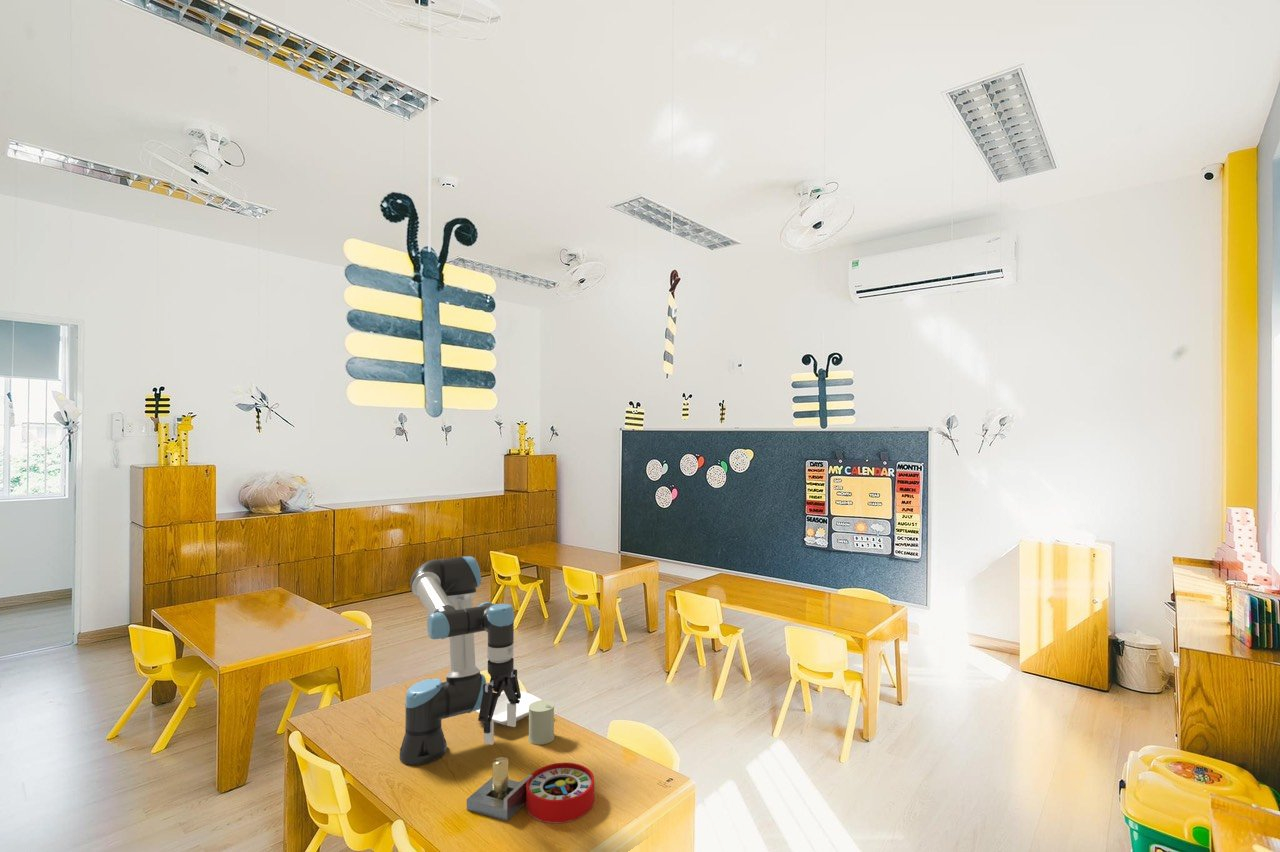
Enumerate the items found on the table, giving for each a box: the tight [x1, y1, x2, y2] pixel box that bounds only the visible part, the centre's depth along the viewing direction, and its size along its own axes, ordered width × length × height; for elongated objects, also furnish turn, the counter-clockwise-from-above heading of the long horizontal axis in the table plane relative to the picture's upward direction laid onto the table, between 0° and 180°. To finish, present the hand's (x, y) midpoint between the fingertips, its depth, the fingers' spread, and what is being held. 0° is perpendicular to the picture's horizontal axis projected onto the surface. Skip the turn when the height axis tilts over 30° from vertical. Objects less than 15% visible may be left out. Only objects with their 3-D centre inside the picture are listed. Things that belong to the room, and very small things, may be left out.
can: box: [528, 699, 555, 746], centre depth 210 cm, size 9×9×12 cm
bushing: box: [492, 756, 509, 800], centre depth 172 cm, size 4×4×12 cm
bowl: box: [475, 690, 542, 726], centre depth 225 cm, size 22×23×6 cm
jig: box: [466, 774, 533, 822], centre depth 172 cm, size 14×13×6 cm
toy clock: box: [525, 762, 595, 824], centre depth 172 cm, size 20×6×20 cm
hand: (500, 734), depth 173 cm, fingers open, 10 cm apart
